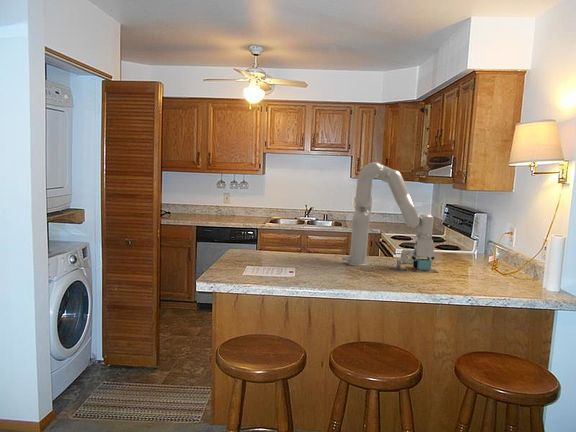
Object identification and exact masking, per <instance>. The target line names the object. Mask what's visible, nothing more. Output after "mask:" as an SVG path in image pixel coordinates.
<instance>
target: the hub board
mask: <svg viewBox="0 0 576 432" xmlns="http://www.w3.org/2000/svg"><path fill="white" fill-rule="evenodd" d="M420 260H425V259H420ZM405 269H407V270H409V271H412V272H414V273H427V274H428V273H434V274H435V273H437V274H439V271H438V270H436V269H433V268H431V270H419V269H417V268H414V267H413V265H412V266H410V265H409V266H407V265H406V266H405Z"/></svg>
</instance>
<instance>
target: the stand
mask: <svg viewBox="0 0 576 432" xmlns="http://www.w3.org/2000/svg"><path fill="white" fill-rule="evenodd" d="M401 263H402V260H401V259H397V260H396V266H391V267H388V269H389V270H391V271H395V272H407V271H408V268H403V267H401Z"/></svg>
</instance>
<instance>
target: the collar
mask: <svg viewBox="0 0 576 432" xmlns="http://www.w3.org/2000/svg"><path fill="white" fill-rule="evenodd" d="M420 259H425V260H420ZM417 261H418V263H417V269H419V270H431V269H432V262H433V260H432V261H430V260H428V259H427V257H419V258H418V260H417ZM413 262H414V260H413ZM412 266H413V265H412ZM413 267H414V266H413Z"/></svg>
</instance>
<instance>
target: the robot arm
mask: <svg viewBox="0 0 576 432" xmlns="http://www.w3.org/2000/svg"><path fill="white" fill-rule="evenodd" d="M374 178H375V179H378V180H380V181H382V182H385V183H387V184H388V186H389V189H390V190H391V193H392V195H393V198H394V201H395V202H396V205H397V206H398V208H399V210H400V212H401V214H402V217H403V219H404V221H405V224H406V225H407V226H408V227H409V228H416V227H418V230H417V231H418V233H416V234H415V237H416V239H415V243H414V247H413V251H412V252H410V253H409V254H408V255H409V256H410V257H411V258H412V259H413V260H414V262H413V264H412V266H414V268H417V263H418V261H417V260H418V258H426V259H428V260H430V261H432V262H433V260H434V259H435V258H436V257H437V256H438V254H436V252H435V251H434V250H435V249H434V248H435V247H434V244H435V243H434V240H433V239H432V238H433V230H434V222H435V221H434V220H435V218H434V216H433V215H431V214H419V213H417V212H418V211H417V210H416V208H415V206H414V203H413V200H412V197H411V194H410V191H409V189H408V188H407V185H406V182H405V180H404V178H403V175H402V173H401V171H399V170H397V169H393V168H390V167H388V166H387V165H383V164H381V163H380V162H378V161H373V162H370V163H367V164H366V165H364V166H363V167H362V168H361V169H360V171H359V173H358V176H357V181H356V190H355V197H354V201H355V202H354V203H355V207H354V214H353V216H352V222H351V235H350V236H351V239H350V240H351V241H350V251H349V255H348V256H341V260H342V261H345V262H346V264H347V265H349V266H353V267H357V266H367V265H369V264H370V263H369V262H367V255H368V244H369V230H370V222H371V219H372V217H371V215H372V205H373V204H372V203H373V197H372V188H373V187H372V186H373V180H375V179H374ZM413 254H414V255H415V256H413ZM411 258H410V259H411Z"/></svg>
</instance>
